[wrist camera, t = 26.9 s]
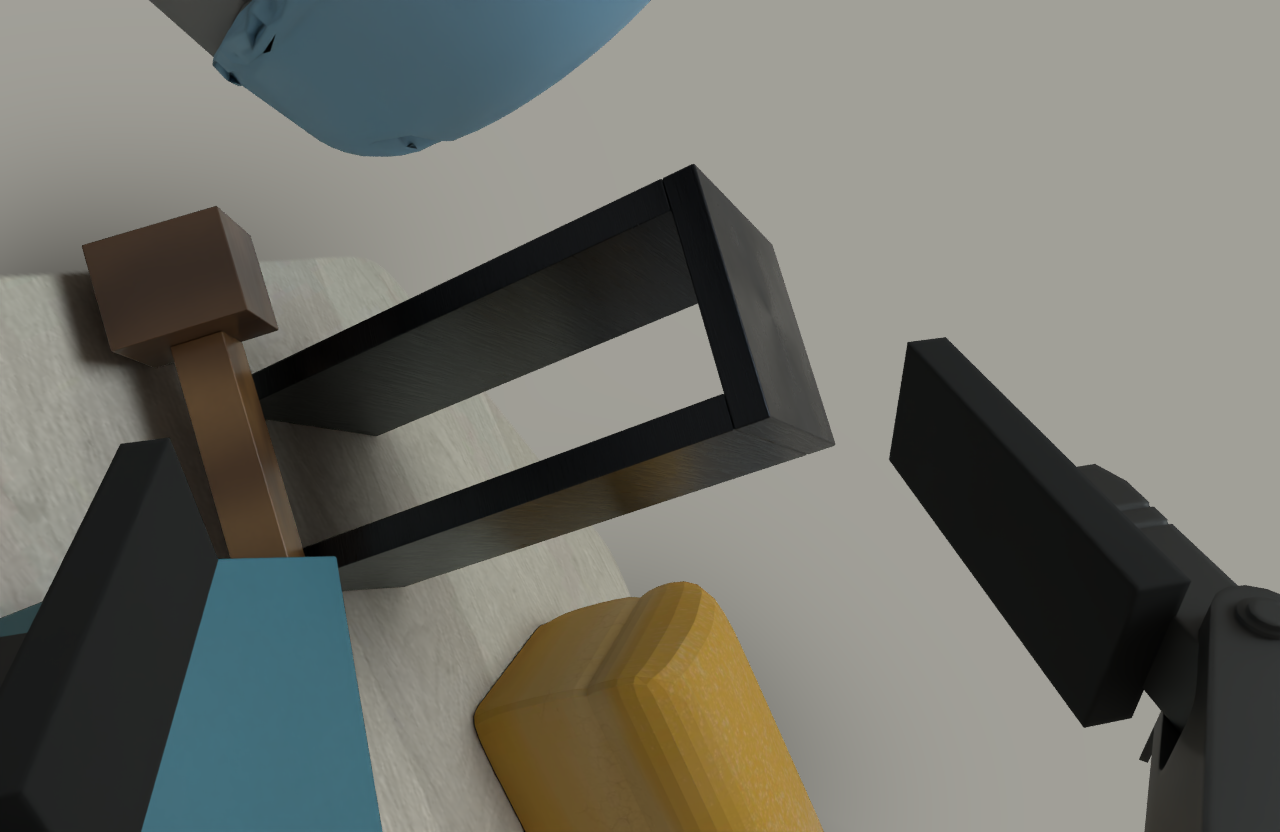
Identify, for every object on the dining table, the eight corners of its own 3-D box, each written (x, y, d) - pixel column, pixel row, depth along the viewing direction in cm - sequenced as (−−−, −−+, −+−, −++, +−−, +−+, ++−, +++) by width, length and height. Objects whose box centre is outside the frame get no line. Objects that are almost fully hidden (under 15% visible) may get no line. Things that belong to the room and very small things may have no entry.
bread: (675, 885, 70) (859, 858, 64) (627, 1038, 58) (848, 1021, 52) (544, 615, 66) (729, 561, 60) (464, 719, 54) (684, 664, 48)
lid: (77, 567, 28) (93, 560, 28) (322, 560, 37) (337, 555, 37) (116, 985, 25) (135, 982, 25) (372, 864, 34) (388, 861, 34)
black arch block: (224, 386, 46) (693, 162, 36) (372, 413, 56) (772, 243, 46) (254, 597, 43) (770, 417, 33) (404, 586, 53) (835, 445, 43)
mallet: (127, 271, 43) (80, 245, 39) (250, 235, 43) (216, 204, 39) (224, 612, 41) (184, 620, 37) (351, 569, 42) (325, 572, 38)
